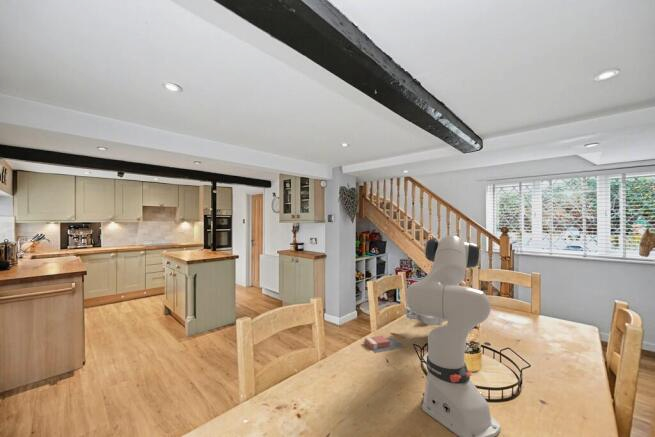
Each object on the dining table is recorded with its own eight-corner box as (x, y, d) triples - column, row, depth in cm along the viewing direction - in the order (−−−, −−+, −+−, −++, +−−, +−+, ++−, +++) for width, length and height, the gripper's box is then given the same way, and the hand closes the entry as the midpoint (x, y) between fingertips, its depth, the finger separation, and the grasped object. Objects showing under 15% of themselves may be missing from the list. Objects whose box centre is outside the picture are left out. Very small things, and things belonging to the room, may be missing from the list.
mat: (406, 347, 127) (406, 347, 127) (375, 353, 121) (375, 352, 121) (392, 338, 138) (392, 337, 138) (363, 342, 132) (363, 342, 132)
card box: (389, 341, 128) (371, 344, 124) (389, 346, 128) (371, 349, 124) (382, 335, 134) (364, 338, 131) (382, 340, 134) (364, 343, 131)
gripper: (416, 303, 150) (395, 305, 145) (443, 313, 131) (421, 316, 126) (416, 314, 150) (395, 316, 145) (444, 326, 130) (421, 329, 126)
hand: (407, 316), depth 135 cm, fingers closed
